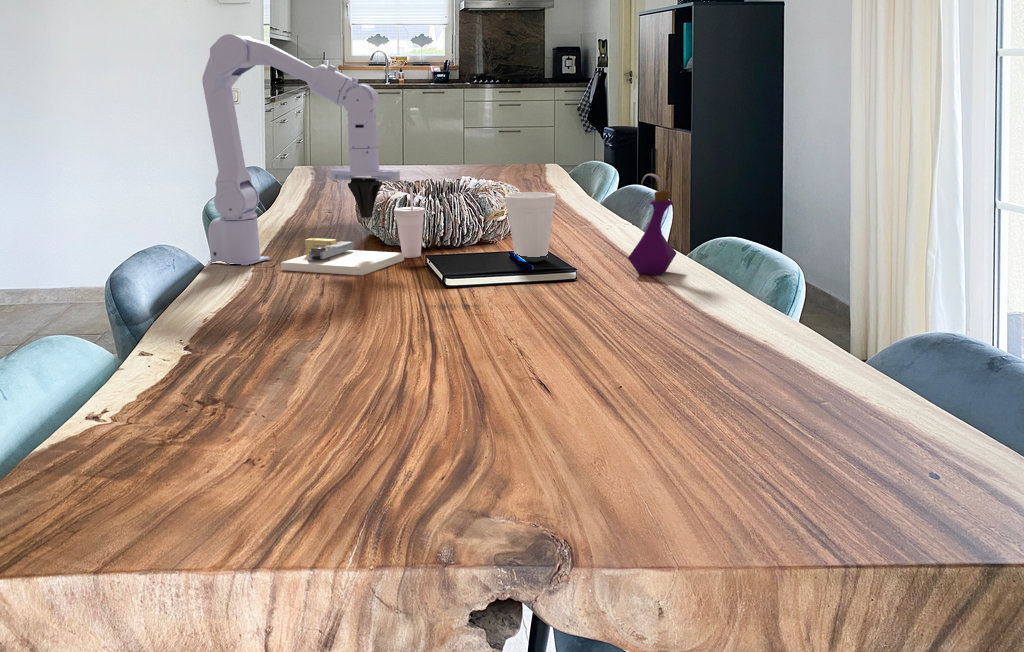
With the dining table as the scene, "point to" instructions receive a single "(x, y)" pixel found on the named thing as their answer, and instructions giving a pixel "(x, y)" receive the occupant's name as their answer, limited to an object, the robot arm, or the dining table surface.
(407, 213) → the smoothie
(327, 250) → the latch bar
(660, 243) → the perfume bottle
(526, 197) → the cup
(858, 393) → the dining table surface
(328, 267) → the base board
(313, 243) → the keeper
